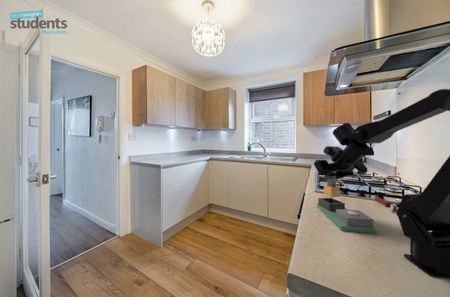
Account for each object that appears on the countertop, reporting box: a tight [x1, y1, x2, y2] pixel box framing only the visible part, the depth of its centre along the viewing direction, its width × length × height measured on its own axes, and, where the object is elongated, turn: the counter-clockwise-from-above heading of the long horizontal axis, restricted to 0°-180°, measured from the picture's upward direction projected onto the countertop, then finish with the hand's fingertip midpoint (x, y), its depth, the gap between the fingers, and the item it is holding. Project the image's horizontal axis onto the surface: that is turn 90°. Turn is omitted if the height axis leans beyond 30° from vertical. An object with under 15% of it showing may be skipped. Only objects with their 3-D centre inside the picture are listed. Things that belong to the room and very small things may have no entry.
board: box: [316, 203, 377, 234], centre depth 64 cm, size 21×10×2 cm, turn 171°
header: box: [317, 197, 346, 211], centre depth 70 cm, size 7×6×3 cm
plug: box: [323, 172, 340, 198], centre depth 70 cm, size 4×4×12 cm
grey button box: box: [336, 209, 375, 227], centre depth 58 cm, size 8×8×3 cm
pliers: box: [374, 195, 401, 213], centre depth 75 cm, size 12×20×3 cm, turn 142°
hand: (329, 179), depth 71 cm, fingers closed on plug, 3 cm apart
